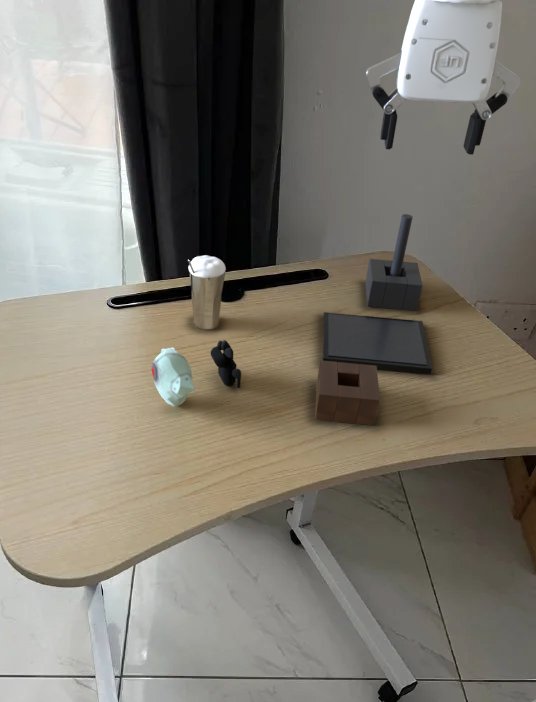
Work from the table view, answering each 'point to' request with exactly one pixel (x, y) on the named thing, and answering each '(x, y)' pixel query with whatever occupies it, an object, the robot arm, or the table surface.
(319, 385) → the pen stand
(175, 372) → the robot head
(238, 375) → the wireless earbuds
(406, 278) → the dock
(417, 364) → the tablet
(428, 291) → the table surface
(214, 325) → the milkshake
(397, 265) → the stylus
